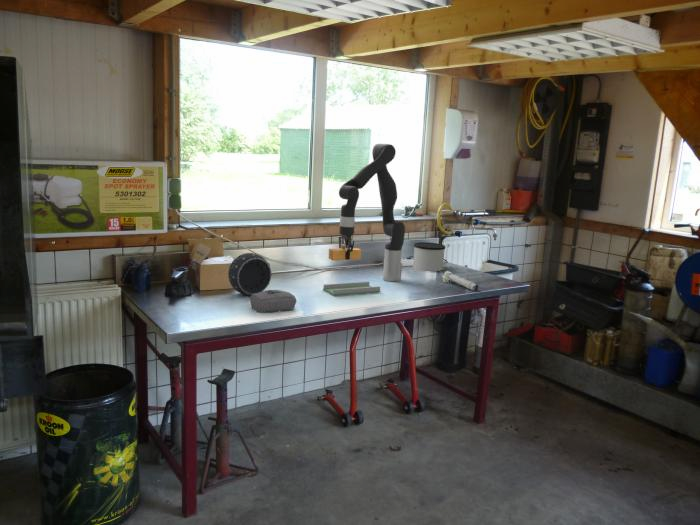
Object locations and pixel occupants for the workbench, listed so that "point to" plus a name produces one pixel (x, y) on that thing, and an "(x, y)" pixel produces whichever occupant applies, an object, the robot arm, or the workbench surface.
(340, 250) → the chute
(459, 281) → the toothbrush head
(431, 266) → the container
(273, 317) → the workbench surface
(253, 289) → the dark patterned drum
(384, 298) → the workbench surface
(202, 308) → the workbench surface
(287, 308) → the soft grey pack
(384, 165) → the robot arm
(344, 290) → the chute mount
